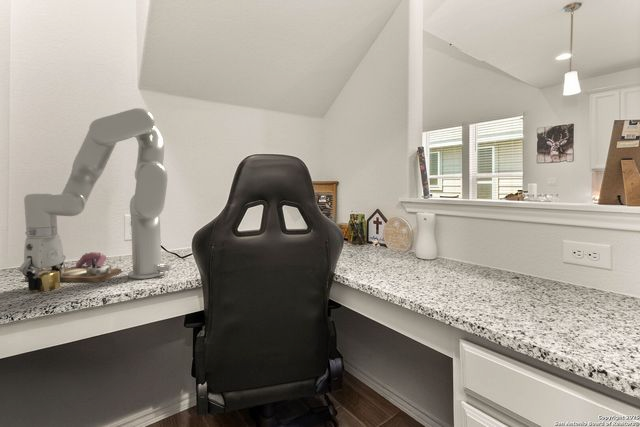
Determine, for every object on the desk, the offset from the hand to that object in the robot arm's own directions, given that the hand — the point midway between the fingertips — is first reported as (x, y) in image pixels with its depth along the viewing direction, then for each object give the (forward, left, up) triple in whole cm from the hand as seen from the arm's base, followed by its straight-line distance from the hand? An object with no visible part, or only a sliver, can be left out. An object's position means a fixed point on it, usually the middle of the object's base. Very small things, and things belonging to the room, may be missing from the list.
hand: (45, 285), depth 103 cm
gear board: (0, -13, -1) cm, 13 cm away
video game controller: (+4, -27, -1) cm, 27 cm away
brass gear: (0, 0, -1) cm, 1 cm away
